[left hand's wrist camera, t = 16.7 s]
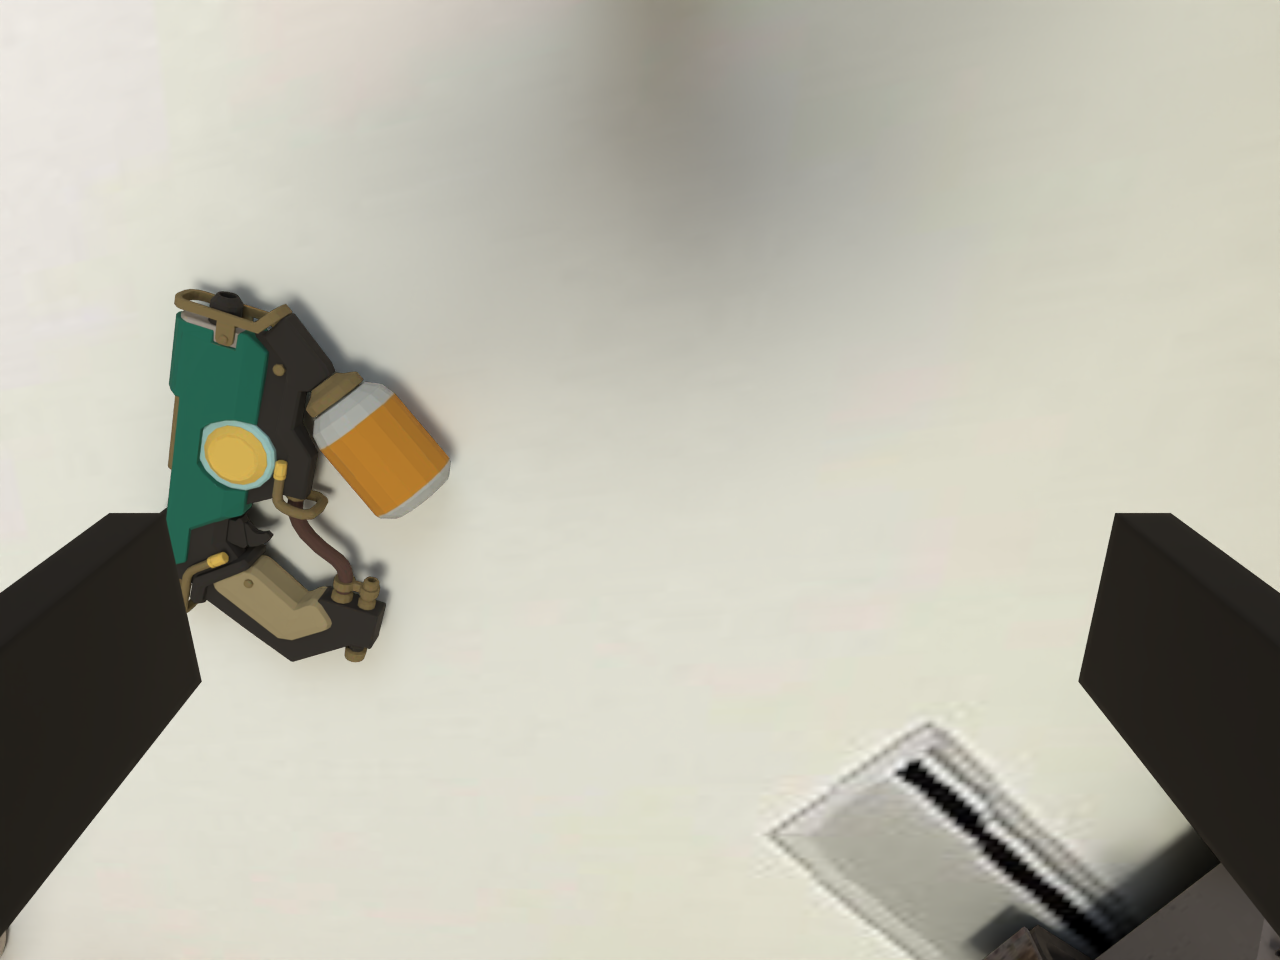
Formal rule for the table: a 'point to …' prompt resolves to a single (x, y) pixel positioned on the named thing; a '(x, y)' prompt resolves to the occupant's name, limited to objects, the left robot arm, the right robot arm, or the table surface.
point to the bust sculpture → (2, 942)
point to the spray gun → (279, 470)
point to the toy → (1172, 930)
